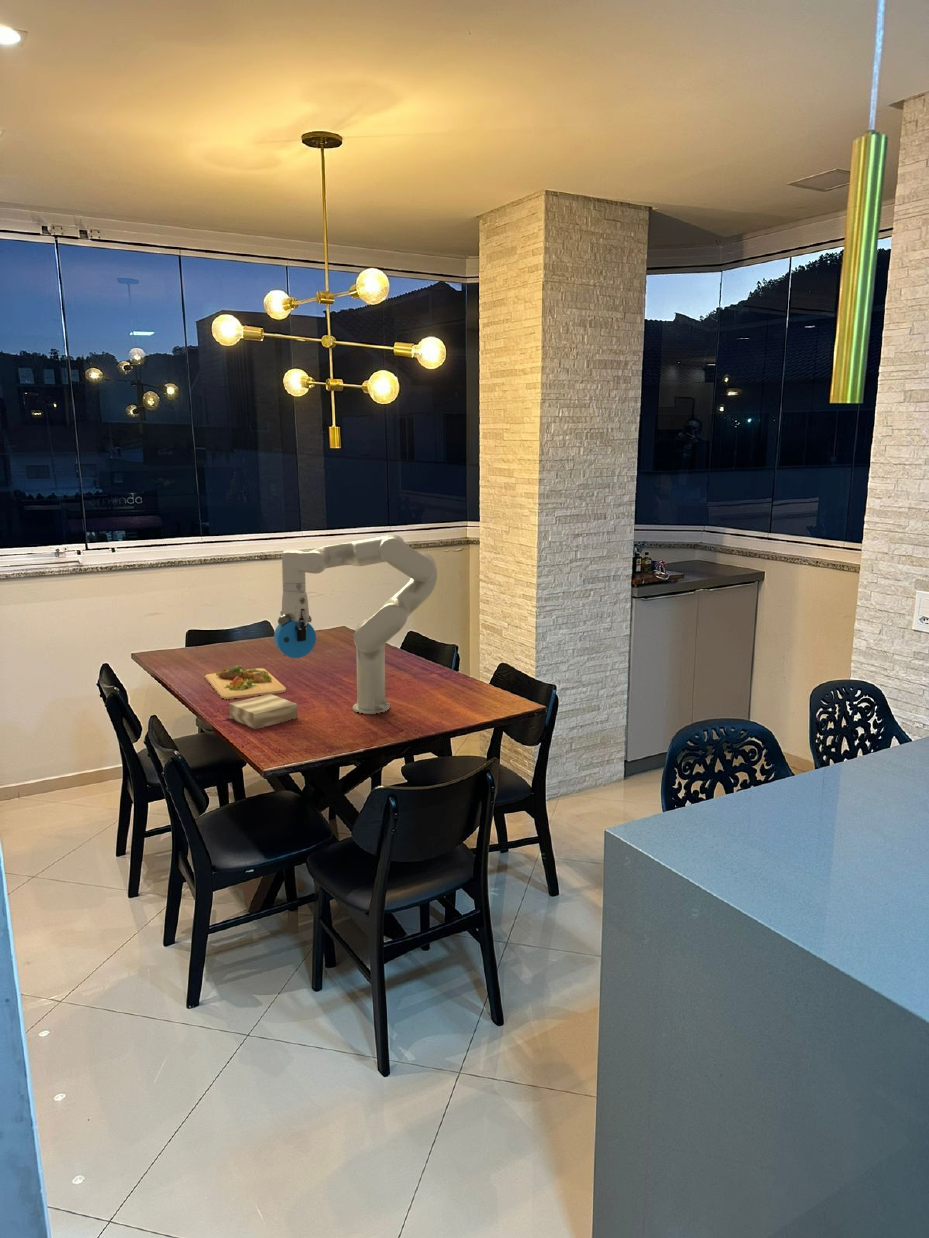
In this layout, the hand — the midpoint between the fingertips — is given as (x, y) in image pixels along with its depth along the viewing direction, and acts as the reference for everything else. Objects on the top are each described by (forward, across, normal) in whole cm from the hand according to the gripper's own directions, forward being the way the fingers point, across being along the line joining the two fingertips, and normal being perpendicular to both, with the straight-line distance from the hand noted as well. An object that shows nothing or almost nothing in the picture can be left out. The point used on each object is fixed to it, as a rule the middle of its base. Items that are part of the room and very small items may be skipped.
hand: (295, 638), depth 288 cm
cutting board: (+26, +40, -3) cm, 48 cm away
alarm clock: (+7, 0, 0) cm, 7 cm away
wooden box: (+25, -1, +13) cm, 28 cm away
